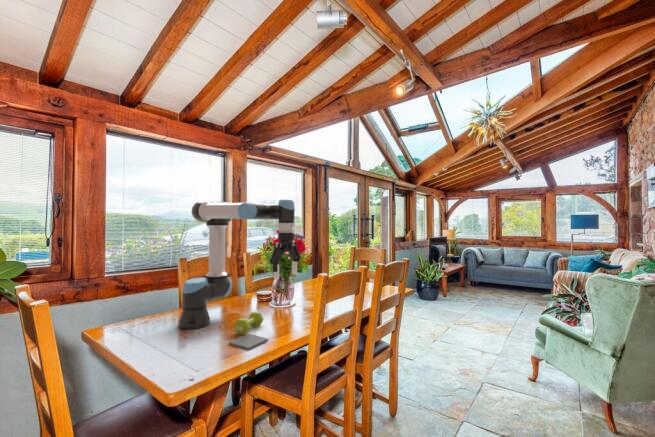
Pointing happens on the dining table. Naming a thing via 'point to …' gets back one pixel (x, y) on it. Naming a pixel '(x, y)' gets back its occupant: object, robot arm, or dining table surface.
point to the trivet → (248, 341)
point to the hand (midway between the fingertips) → (285, 276)
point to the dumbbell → (248, 323)
